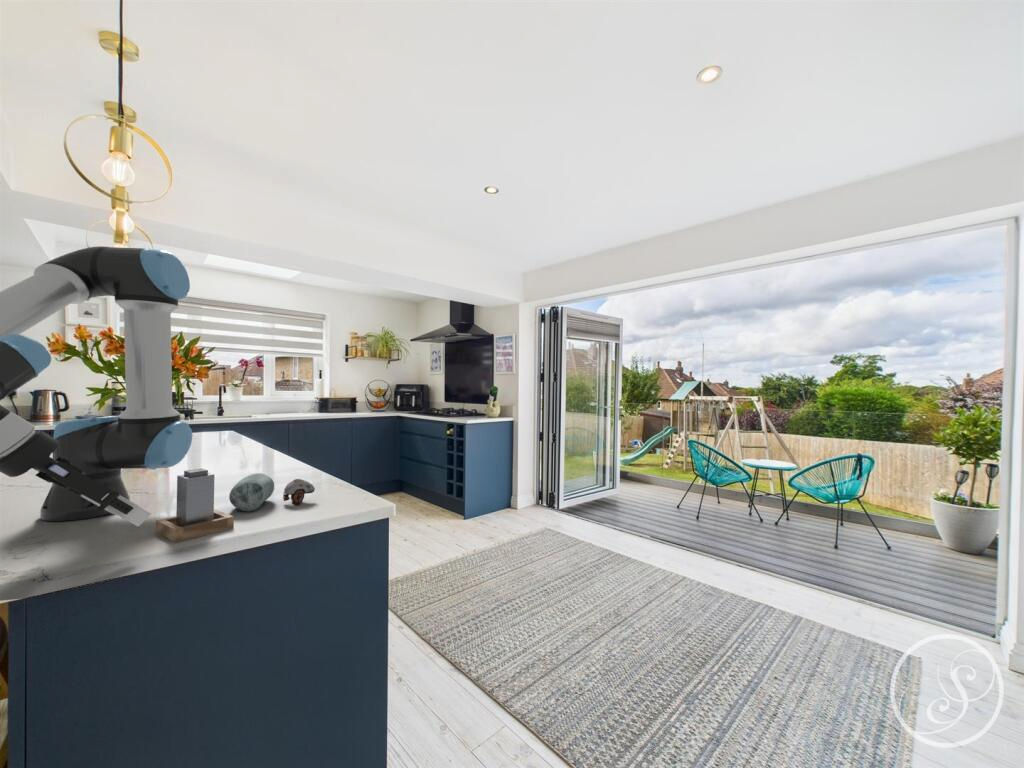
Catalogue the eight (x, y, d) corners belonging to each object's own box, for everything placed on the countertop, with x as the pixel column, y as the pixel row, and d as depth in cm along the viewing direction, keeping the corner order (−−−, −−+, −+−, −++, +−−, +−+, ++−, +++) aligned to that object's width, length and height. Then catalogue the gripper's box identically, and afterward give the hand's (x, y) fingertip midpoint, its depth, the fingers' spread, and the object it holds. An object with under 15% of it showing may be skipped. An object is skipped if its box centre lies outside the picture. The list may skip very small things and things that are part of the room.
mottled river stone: (268, 500, 100) (252, 464, 101) (228, 520, 97) (212, 483, 99) (288, 499, 113) (274, 467, 114) (253, 517, 110) (239, 484, 112)
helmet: (282, 502, 109) (283, 478, 110) (313, 498, 114) (314, 475, 114) (284, 507, 105) (284, 482, 105) (316, 503, 109) (316, 479, 109)
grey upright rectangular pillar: (176, 531, 87) (177, 471, 87) (203, 524, 91) (204, 467, 92) (185, 536, 84) (186, 473, 85) (213, 529, 89) (214, 469, 89)
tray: (155, 532, 86) (156, 520, 86) (212, 519, 95) (212, 508, 95) (175, 542, 81) (176, 530, 81) (233, 527, 90) (233, 516, 90)
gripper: (-27, 456, 71) (91, 519, 83) (0, 473, 58) (136, 545, 70) (21, 424, 75) (126, 488, 88) (56, 432, 62) (174, 507, 75)
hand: (131, 513), depth 79 cm, fingers open, 13 cm apart
